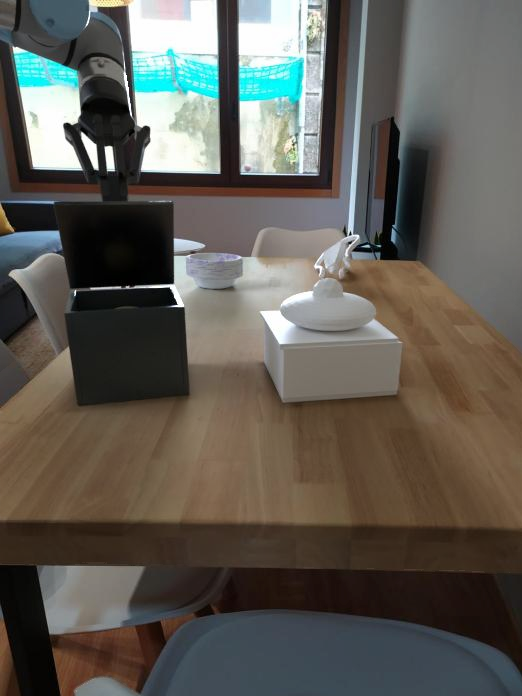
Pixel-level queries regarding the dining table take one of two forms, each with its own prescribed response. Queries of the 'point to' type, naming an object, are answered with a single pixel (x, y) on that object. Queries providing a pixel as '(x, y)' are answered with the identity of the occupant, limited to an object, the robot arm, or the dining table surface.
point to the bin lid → (117, 242)
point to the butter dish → (329, 347)
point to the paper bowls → (214, 269)
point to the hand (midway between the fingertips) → (117, 217)
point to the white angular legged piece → (337, 257)
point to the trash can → (127, 344)
